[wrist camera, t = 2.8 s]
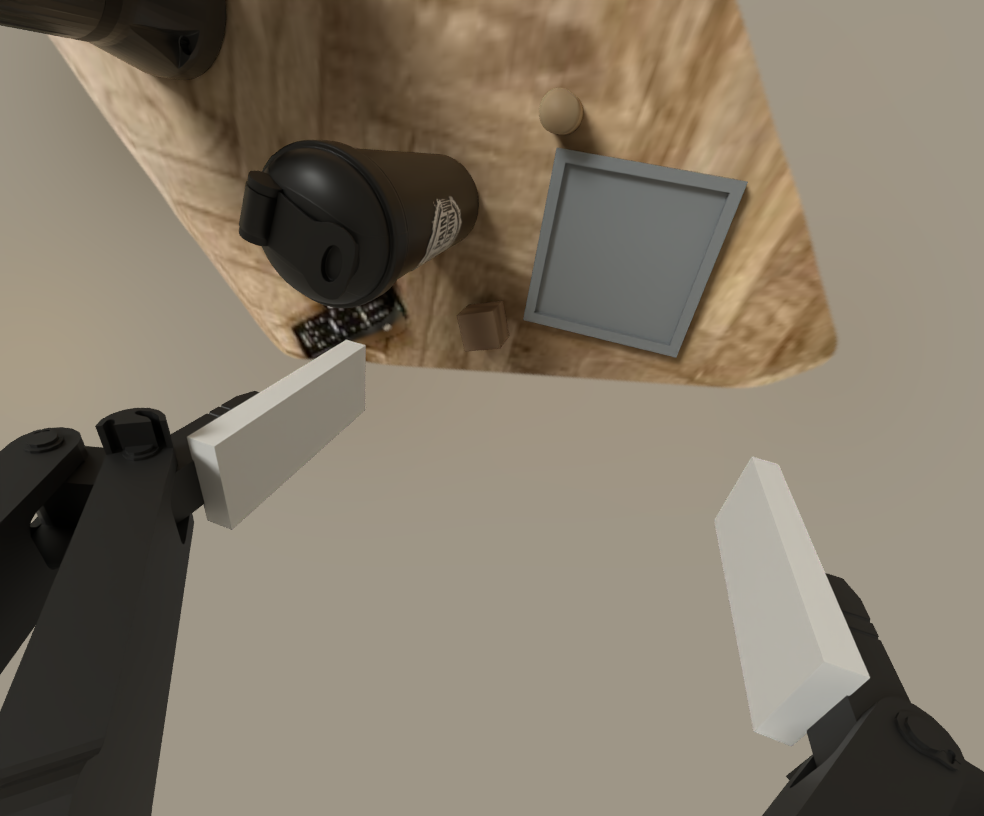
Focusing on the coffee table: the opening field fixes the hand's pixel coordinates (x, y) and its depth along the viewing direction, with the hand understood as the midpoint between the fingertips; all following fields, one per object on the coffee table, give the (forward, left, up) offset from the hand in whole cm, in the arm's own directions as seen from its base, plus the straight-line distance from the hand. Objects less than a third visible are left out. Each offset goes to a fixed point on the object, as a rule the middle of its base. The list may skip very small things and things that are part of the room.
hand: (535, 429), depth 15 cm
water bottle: (-17, +1, -34) cm, 38 cm away
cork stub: (-6, +10, -34) cm, 36 cm away
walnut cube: (-10, -10, -34) cm, 37 cm away
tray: (+2, 0, -34) cm, 34 cm away
